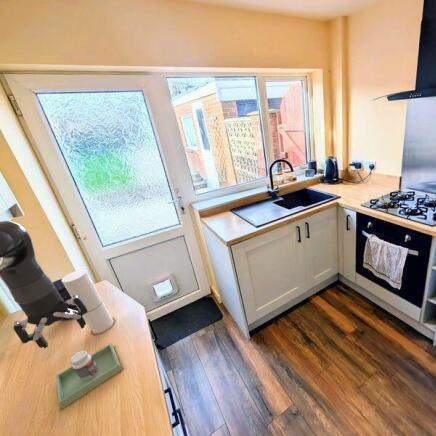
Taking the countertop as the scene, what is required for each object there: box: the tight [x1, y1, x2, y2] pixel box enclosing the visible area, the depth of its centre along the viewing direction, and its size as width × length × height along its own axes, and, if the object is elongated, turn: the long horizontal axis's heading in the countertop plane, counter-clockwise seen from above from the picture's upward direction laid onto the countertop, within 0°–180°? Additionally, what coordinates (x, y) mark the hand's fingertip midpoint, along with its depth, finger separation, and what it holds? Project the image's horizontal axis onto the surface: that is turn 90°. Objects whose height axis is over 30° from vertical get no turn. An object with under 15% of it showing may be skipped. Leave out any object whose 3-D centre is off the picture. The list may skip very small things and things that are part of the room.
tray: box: [55, 343, 123, 409], centre depth 79 cm, size 15×12×2 cm
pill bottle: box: [70, 350, 99, 381], centre depth 77 cm, size 5×5×8 cm
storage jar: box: [52, 278, 79, 321], centre depth 105 cm, size 10×10×15 cm
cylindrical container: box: [61, 269, 114, 335], centre depth 93 cm, size 7×7×25 cm
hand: (65, 336), depth 72 cm, fingers open, 8 cm apart
